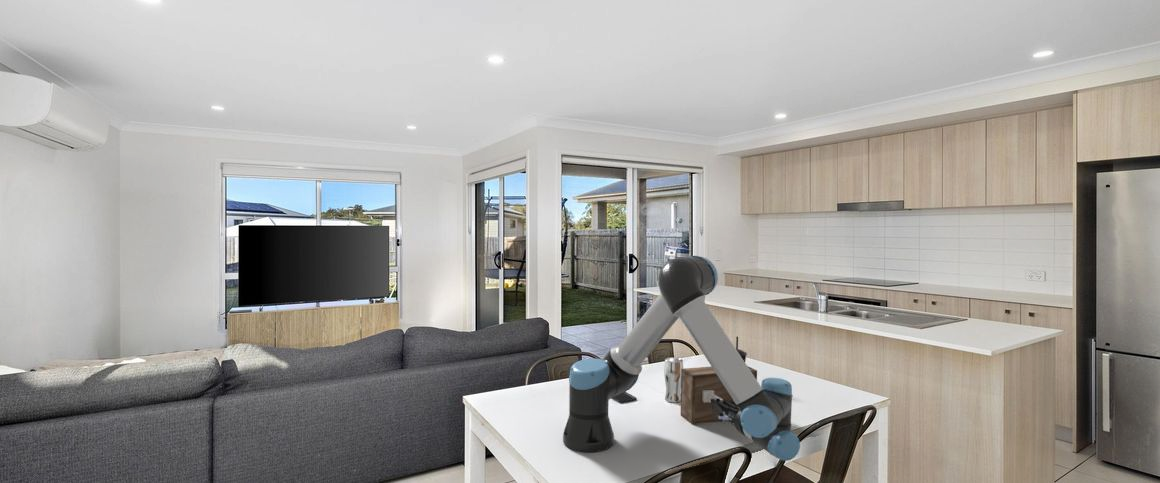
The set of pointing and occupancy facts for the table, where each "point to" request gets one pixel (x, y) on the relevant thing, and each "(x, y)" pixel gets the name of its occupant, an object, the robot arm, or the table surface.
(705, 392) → the oat key
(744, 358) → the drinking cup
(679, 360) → the beer glass
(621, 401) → the phone
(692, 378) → the key box
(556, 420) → the table surface
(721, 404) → the robot arm
